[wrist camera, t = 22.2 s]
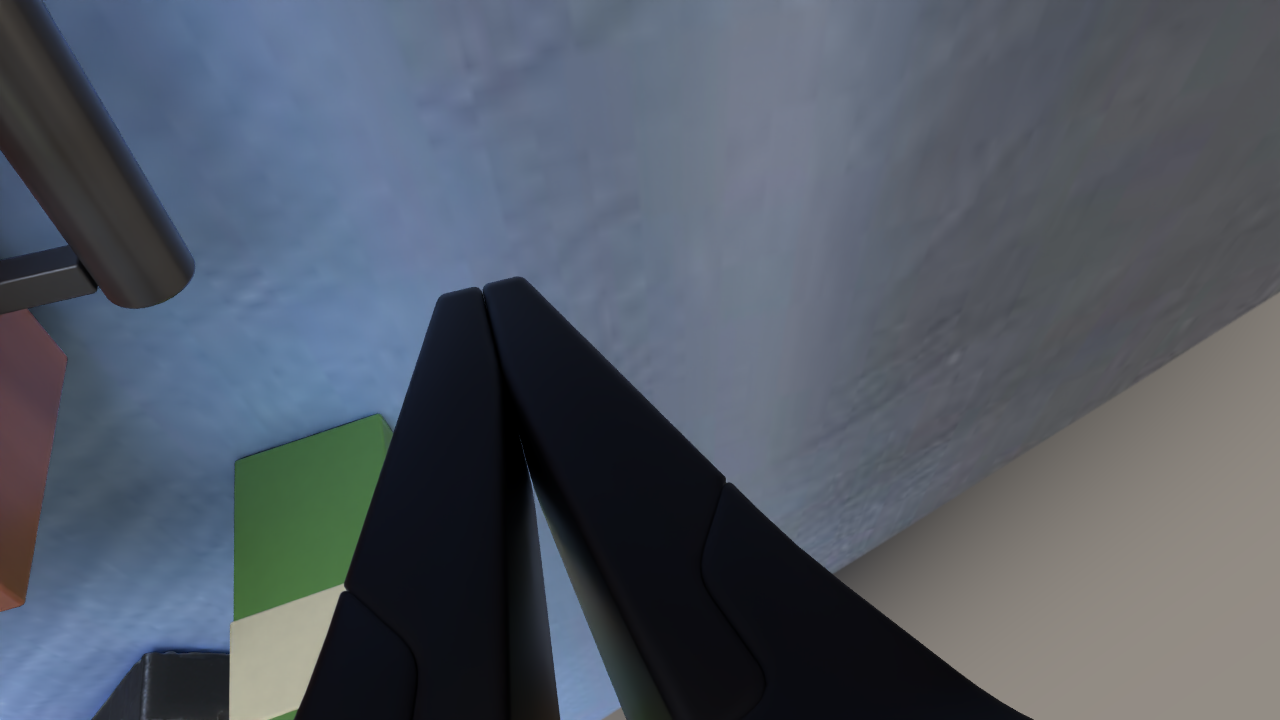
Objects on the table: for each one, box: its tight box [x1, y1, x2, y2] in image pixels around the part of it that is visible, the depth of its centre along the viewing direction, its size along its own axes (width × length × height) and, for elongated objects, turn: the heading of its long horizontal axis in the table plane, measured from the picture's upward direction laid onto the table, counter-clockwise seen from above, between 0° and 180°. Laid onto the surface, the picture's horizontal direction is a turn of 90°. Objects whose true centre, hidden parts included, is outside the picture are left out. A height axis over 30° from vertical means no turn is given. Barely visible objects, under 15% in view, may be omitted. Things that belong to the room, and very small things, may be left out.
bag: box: [229, 414, 393, 720], centre depth 22 cm, size 4×6×11 cm
